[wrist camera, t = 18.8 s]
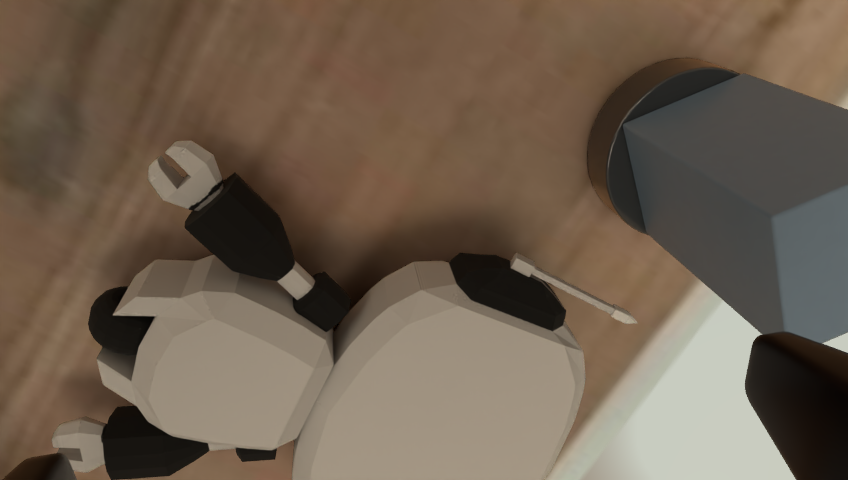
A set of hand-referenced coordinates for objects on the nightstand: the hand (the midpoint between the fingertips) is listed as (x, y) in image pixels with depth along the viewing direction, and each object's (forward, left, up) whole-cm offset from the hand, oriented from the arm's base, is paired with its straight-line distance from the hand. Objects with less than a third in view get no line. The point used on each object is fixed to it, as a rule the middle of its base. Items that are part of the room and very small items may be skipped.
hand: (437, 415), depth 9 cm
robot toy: (-1, -7, -13) cm, 15 cm away
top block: (+11, -2, -12) cm, 16 cm away
